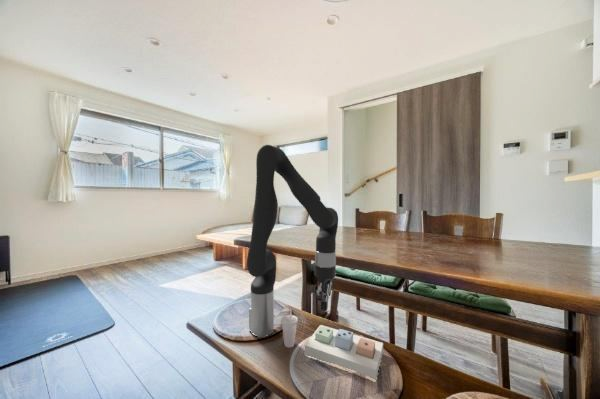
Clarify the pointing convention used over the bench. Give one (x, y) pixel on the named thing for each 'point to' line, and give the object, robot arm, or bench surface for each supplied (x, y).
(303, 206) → the robot arm
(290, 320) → the smoothie
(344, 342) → the tile three
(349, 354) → the board
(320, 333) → the tile two
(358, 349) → the tile one
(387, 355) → the bench surface
